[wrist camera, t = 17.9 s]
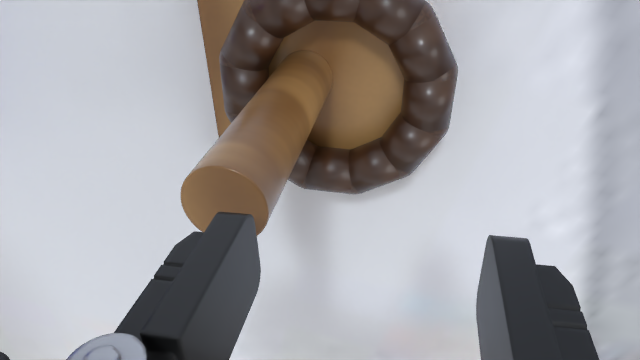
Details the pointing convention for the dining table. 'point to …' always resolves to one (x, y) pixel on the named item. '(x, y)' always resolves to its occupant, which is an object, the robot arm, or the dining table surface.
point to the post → (289, 112)
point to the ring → (410, 54)
